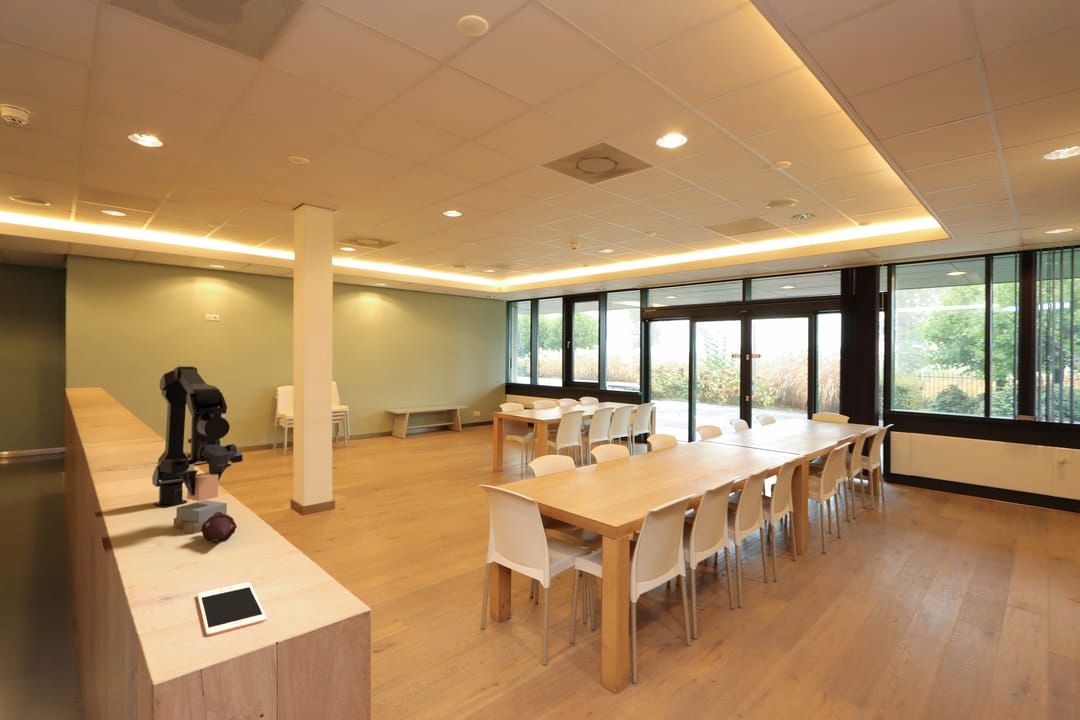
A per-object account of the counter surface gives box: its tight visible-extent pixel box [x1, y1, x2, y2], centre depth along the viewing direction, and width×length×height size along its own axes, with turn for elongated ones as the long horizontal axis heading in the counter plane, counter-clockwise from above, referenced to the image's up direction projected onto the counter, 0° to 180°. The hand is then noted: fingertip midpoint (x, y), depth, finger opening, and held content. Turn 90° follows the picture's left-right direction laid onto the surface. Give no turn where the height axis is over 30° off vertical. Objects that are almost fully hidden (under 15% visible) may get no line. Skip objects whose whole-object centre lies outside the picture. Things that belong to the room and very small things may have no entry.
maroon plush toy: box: [201, 512, 238, 544], centre depth 127 cm, size 7×7×15 cm
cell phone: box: [196, 581, 267, 637], centre depth 93 cm, size 9×18×1 cm, turn 38°
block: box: [186, 472, 219, 502], centre depth 138 cm, size 5×5×6 cm
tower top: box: [175, 499, 228, 523], centre depth 138 cm, size 8×8×3 cm
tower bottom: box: [173, 513, 230, 535], centre depth 138 cm, size 9×9×3 cm
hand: (202, 493), depth 138 cm, fingers closed on block, 5 cm apart
